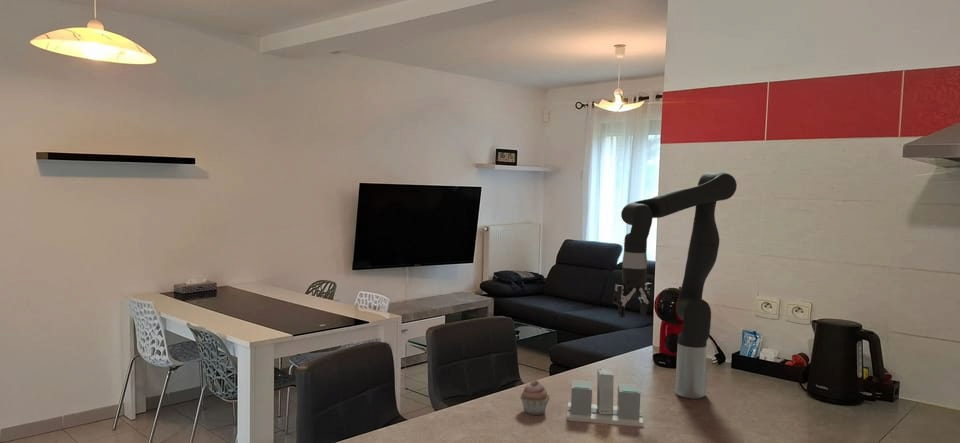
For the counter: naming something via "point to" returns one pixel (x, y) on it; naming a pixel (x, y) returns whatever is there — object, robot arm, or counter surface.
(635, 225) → the robot arm
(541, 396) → the cupcake
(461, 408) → the counter surface
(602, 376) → the skincare box
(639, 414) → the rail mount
